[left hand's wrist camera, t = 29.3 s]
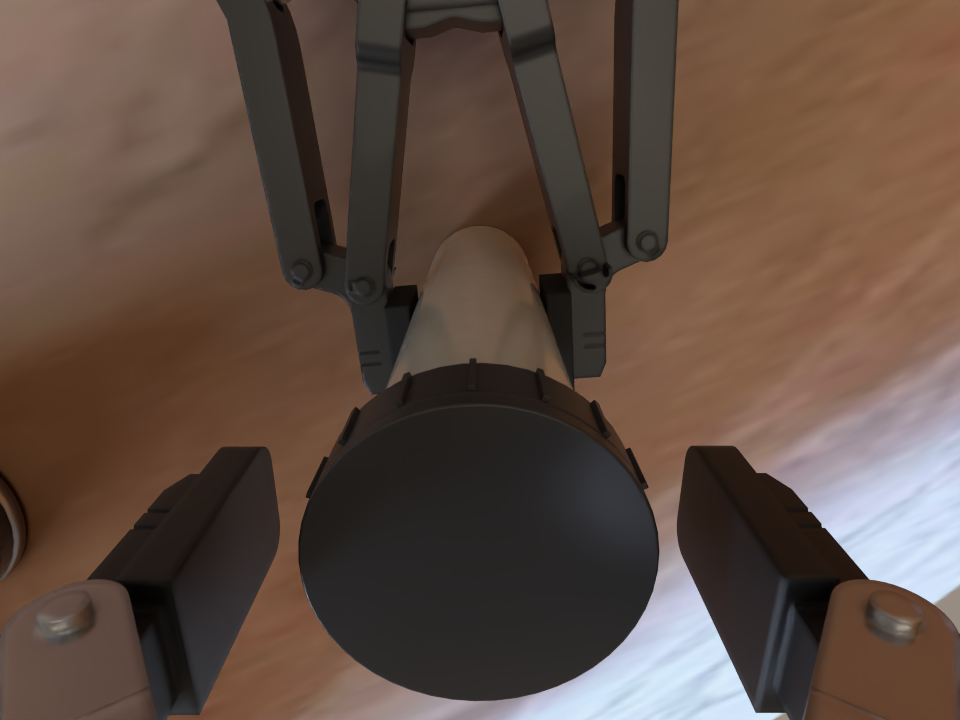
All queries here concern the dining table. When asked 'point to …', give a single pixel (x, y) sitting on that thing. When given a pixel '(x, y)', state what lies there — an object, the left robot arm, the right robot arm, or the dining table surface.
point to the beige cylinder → (480, 310)
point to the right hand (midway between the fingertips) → (492, 462)
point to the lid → (478, 534)
